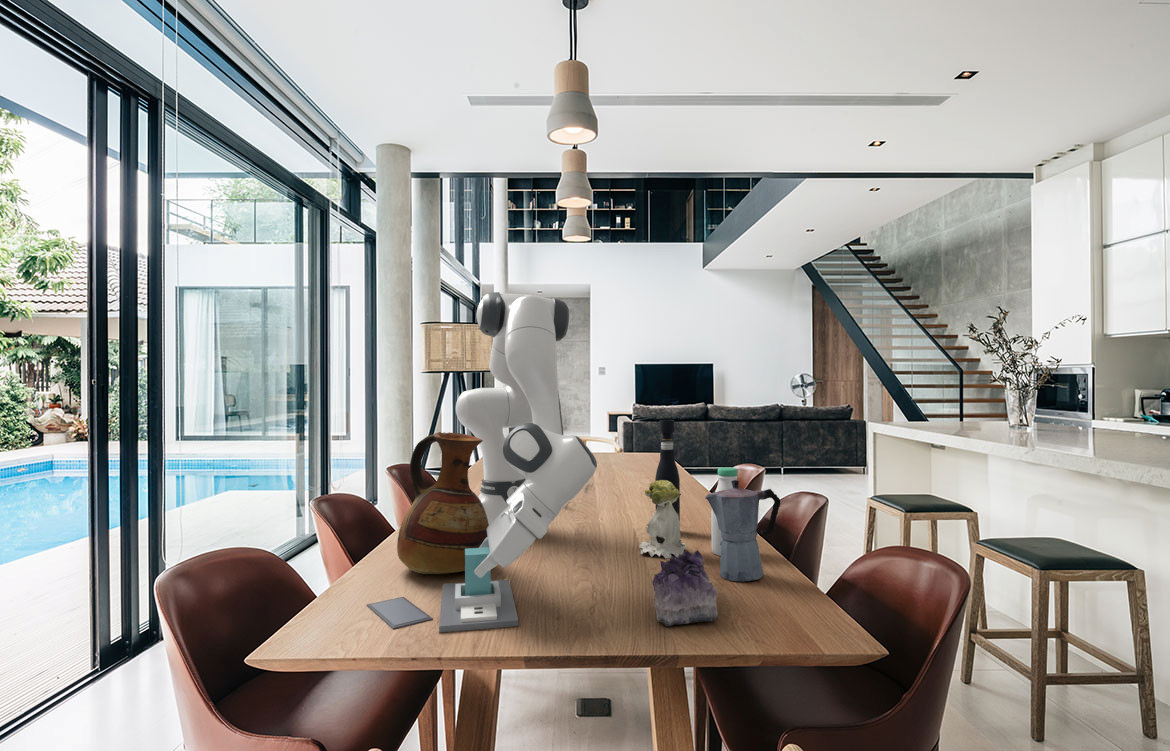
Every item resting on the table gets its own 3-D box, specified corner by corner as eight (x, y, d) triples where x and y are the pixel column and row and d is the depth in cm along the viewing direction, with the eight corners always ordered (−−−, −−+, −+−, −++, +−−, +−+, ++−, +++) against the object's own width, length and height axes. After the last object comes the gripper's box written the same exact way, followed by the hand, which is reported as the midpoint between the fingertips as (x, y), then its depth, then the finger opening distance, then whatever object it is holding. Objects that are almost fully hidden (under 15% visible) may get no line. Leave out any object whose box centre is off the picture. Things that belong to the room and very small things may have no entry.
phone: (393, 632, 106) (393, 627, 106) (366, 608, 118) (366, 604, 118) (432, 623, 110) (432, 618, 110) (403, 600, 122) (403, 596, 122)
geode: (649, 589, 126) (656, 539, 126) (708, 599, 124) (715, 548, 125) (647, 625, 106) (654, 565, 106) (717, 637, 104) (725, 576, 104)
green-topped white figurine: (683, 545, 158) (683, 476, 158) (689, 558, 146) (689, 484, 146) (638, 544, 158) (638, 476, 158) (640, 558, 146) (640, 484, 146)
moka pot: (702, 569, 138) (701, 476, 138) (774, 569, 138) (773, 476, 138) (709, 583, 129) (708, 484, 129) (786, 583, 128) (785, 483, 128)
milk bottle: (745, 558, 146) (745, 471, 146) (711, 556, 147) (710, 470, 147) (744, 549, 153) (743, 466, 153) (711, 548, 155) (710, 465, 155)
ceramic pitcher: (472, 586, 128) (471, 437, 128) (379, 581, 132) (378, 436, 132) (502, 558, 147) (501, 429, 147) (420, 554, 151) (419, 428, 151)
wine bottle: (656, 529, 174) (655, 419, 174) (679, 530, 173) (679, 419, 173) (655, 535, 167) (654, 421, 167) (680, 536, 166) (679, 421, 166)
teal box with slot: (465, 597, 119) (464, 548, 119) (490, 595, 120) (489, 547, 120) (465, 605, 114) (465, 555, 114) (491, 603, 115) (490, 553, 115)
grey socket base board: (443, 588, 126) (442, 573, 126) (508, 584, 129) (508, 569, 129) (439, 632, 105) (439, 614, 105) (518, 625, 107) (518, 608, 107)
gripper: (512, 489, 128) (463, 540, 127) (521, 510, 108) (463, 571, 107) (535, 510, 129) (486, 561, 127) (548, 535, 109) (490, 596, 107)
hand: (476, 566), depth 117 cm, fingers open, 8 cm apart
